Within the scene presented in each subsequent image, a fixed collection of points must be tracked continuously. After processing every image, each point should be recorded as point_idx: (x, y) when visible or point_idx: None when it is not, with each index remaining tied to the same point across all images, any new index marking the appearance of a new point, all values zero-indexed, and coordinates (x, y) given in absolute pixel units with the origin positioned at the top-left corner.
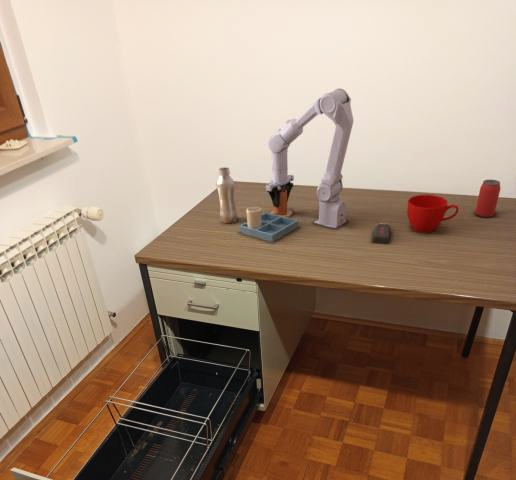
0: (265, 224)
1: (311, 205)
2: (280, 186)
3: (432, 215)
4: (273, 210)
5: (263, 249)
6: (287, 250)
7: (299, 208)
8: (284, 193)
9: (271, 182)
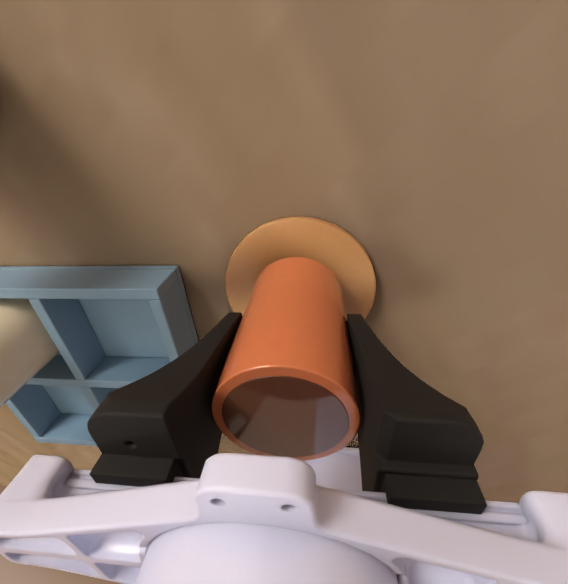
0: (60, 381)
1: (518, 351)
2: (374, 401)
3: None
4: (305, 227)
5: (12, 413)
6: (79, 458)
7: (440, 323)
8: (272, 452)
9: (134, 514)
